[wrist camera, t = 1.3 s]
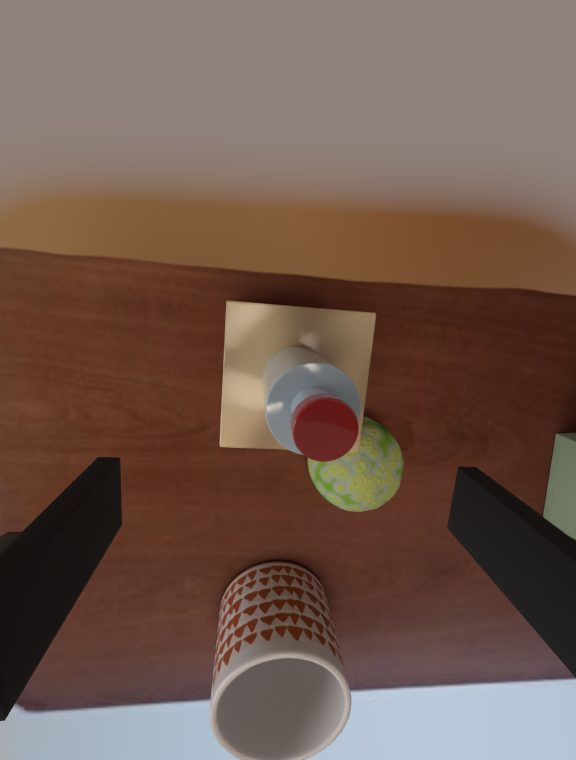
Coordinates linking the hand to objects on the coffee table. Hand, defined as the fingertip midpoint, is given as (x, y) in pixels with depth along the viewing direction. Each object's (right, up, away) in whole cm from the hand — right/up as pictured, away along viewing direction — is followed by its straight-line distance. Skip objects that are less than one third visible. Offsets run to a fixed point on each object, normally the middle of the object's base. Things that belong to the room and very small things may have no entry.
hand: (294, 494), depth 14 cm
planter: (-2, -25, +33) cm, 41 cm away
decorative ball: (+6, -3, +29) cm, 30 cm away
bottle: (0, +4, +11) cm, 12 cm away
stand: (-1, +8, +26) cm, 27 cm away
